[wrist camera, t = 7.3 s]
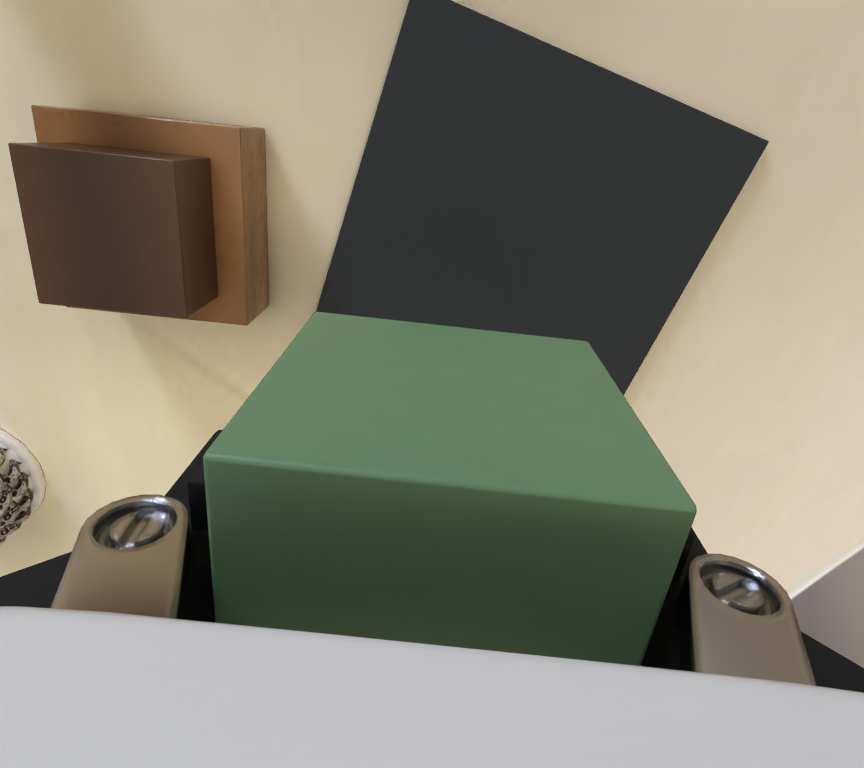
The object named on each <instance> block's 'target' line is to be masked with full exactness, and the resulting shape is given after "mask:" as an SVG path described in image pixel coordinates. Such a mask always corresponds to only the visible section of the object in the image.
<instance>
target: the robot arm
mask: <svg viewBox="0 0 864 768" xmlns="http://www.w3.org/2000/svg"><path fill="white" fill-rule="evenodd" d="M222 431H223V430H218V431H217V432H216V433H215V434H214V435H213V436H212V437H211V439H210V440H209V441H208V442H207V444H206V445H205V446H204V447H203V449H202V450H201V451H200V452H199V454H198V455H197V456H196V457H195V459H194V460H193V461H192V462H191V464H190V465H189V466H188V467H187V469H186V470H185V471H184V472H183V474H182V475H181V476H180V477H179V479H178V480H177V481H176V482H175V484H174V485H173V486H172V487H171V489H170V490H169V491H168V492H167V494H166V495H165V496H162V495H139V496H133V497H127V498H124V499H121V500H118V501H115V502H112V503H110V504H108V505H106V506H104V507H102V508H100V509H99V510H97V511H96V512H95V513H94V514H92V515H91V516H90V517H89V518H88V519H87V520H86V521H85V523H84V525H83V526H82V528H81V530H80V532H79V535H78V538H77V540H76V543H75V545H74V548H73V551H72V552H70V553H67V554H64V555H61V556H58V557H56V558H53V559H50V560H47V561H44V562H42V563H39V564H36V565H33V566H30V567H27V568H25V569H22V570H19V571H16V572H13V573H11V574H8V575H5V576H2V577H0V768H864V668H862V667H861V666H859V665H857V664H855V663H854V662H852V661H850V660H849V659H847V658H845V657H843V656H842V655H840V654H838V653H837V652H835V651H833V650H831V649H830V648H828V647H826V646H825V645H823V644H821V643H820V642H818V641H816V640H814V639H813V638H811V637H809V636H808V635H806V634H804V633H802V632H801V631H800V628H799V624H798V621H797V618H796V614H795V611H794V607H793V604H792V601H791V600H790V598H789V596H788V594H787V592H786V591H785V590H784V588H783V587H782V586H781V585H780V584H779V583H778V582H777V581H776V580H775V579H774V578H772V577H771V576H770V575H768V574H767V573H766V572H765V571H763V570H761V569H759V568H758V567H756V566H754V565H752V564H750V563H748V562H746V561H743V560H741V559H738V558H735V557H732V556H727V555H722V554H707V552H706V550H705V549H704V547H703V545H702V544H701V542H700V540H699V539H698V537H697V536H696V534H695V532H694V531H693V529H692V527H691V529H690V532H689V534H688V537H687V540H686V542H685V545H684V548H683V551H682V553H681V556H680V559H679V562H678V564H677V567H676V570H675V573H674V575H673V578H672V581H671V584H670V586H669V589H668V592H667V595H666V597H665V600H664V603H663V606H662V608H661V611H660V614H659V617H658V619H657V622H656V625H655V628H654V630H653V633H652V636H651V638H650V641H649V644H648V647H647V649H646V652H645V655H644V658H643V660H642V663H641V666H635V665H626V664H616V663H607V662H597V661H587V660H577V659H568V658H558V657H548V656H538V655H528V654H519V653H509V652H499V651H489V650H480V649H470V648H460V647H450V646H440V645H431V644H421V643H411V642H402V641H392V640H382V639H373V638H363V637H353V636H344V635H334V634H324V633H315V632H305V631H295V630H286V629H275V628H265V627H255V626H244V625H234V624H224V623H215V611H214V598H213V585H212V571H211V558H210V545H209V532H208V518H207V505H206V492H205V479H204V465H203V456H204V454H205V452H206V451H207V450H208V449H209V447H210V446H211V445H212V443H213V442H214V441H215V440H216V438H217V437H218V436H219V434H220V433H221V432H222Z"/></svg>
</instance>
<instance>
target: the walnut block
mask: <svg viewBox="0 0 864 768" xmlns="http://www.w3.org/2000/svg"><path fill="white" fill-rule="evenodd" d="M8 145H9V150H10V155H11V161H12V166H13V171H14V176H15V181H16V186H17V192H18V197H19V202H20V207H21V212H22V217H23V222H24V228H25V233H26V238H27V243H28V248H29V253H30V259H31V264H32V269H33V274H34V279H35V284H36V289H37V295H38V300H39V303H42V304H52V305H62V306H72V307H82V308H91V309H101V310H111V311H121V312H130V313H140V314H150V315H160V316H170V317H179V318H188V317H189V316H190V315H192V314H193V313H195V312H196V311H198V310H199V309H201V308H202V307H204V306H205V305H207V304H208V303H209V302H211V301H212V300H214V299H215V298H217V297H218V282H217V265H216V249H215V232H214V215H213V198H212V181H211V165H210V158H209V157H200V156H191V155H181V154H172V153H162V152H153V151H144V150H134V149H125V148H115V147H106V146H96V145H87V144H77V143H68V142H63V143H9V144H8Z"/></svg>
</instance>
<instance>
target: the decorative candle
mask: <svg viewBox="0 0 864 768" xmlns="http://www.w3.org/2000/svg"><path fill="white" fill-rule="evenodd" d="M45 487H46V481H45V478H44V476H43V473H42V470H41V467H40V464H39V462H38V461H37V460H36V459H35V457H34V456H33V455H32V454H31V453H30V451H29V450H28V449H27V448H26V446H25V445H24V444H22V443H21V442H19V441H18V440H17V439H15V438H14V437H12V436H11V435H9V434H8V433H6V432H5V431H3V430H1V429H0V545H1V544H2V543H3V542H4V541H5V539H6V537H7V536H8V535H9V534H11V533H12V532H13V531H15V530H17V529H18V528H20V526H21V524H22V522H23V521H25V520H26V519H27V518H28V517H29V516H30V515H31V514H33V512H34V511H35V510H36V509H37V508H38V507H39V505H40V504H41V503H42V502H43V501H44V494H45Z"/></svg>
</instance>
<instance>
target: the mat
mask: <svg viewBox="0 0 864 768" xmlns="http://www.w3.org/2000/svg"><path fill="white" fill-rule="evenodd" d="M768 142H769V141H767V140H765V139H762V138H760V137H758V136H756V135H753V134H751V133H749V132H747V131H744V130H742V129H740V128H738V127H735V126H733V125H731V124H729V123H726V122H724V121H722V120H719V119H717V118H715V117H713V116H710V115H708V114H706V113H704V112H701V111H699V110H697V109H695V108H692V107H690V106H688V105H686V104H683V103H681V102H679V101H677V100H674V99H672V98H670V97H668V96H665V95H663V94H661V93H659V92H656V91H654V90H652V89H650V88H647V87H645V86H643V85H640V84H638V83H636V82H634V81H631V80H629V79H627V78H625V77H622V76H620V75H618V74H616V73H613V72H611V71H609V70H607V69H604V68H602V67H600V66H598V65H595V64H593V63H591V62H589V61H586V60H584V59H582V58H580V57H577V56H575V55H573V54H571V53H568V52H566V51H564V50H561V49H559V48H557V47H555V46H552V45H550V44H548V43H546V42H543V41H541V40H539V39H537V38H534V37H532V36H530V35H528V34H525V33H523V32H521V31H519V30H516V29H514V28H512V27H510V26H507V25H505V24H503V23H501V22H498V21H496V20H494V19H492V18H489V17H487V16H485V15H482V14H480V13H478V12H476V11H473V10H471V9H469V8H467V7H464V6H462V5H460V4H458V3H455V2H453V1H451V0H410V1H409V4H408V7H407V11H406V14H405V17H404V21H403V24H402V27H401V31H400V34H399V37H398V41H397V44H396V47H395V51H394V54H393V57H392V61H391V64H390V67H389V71H388V74H387V77H386V81H385V84H384V87H383V91H382V94H381V97H380V101H379V104H378V107H377V111H376V114H375V117H374V121H373V124H372V127H371V131H370V134H369V137H368V141H367V144H366V147H365V151H364V154H363V157H362V161H361V164H360V167H359V171H358V174H357V177H356V181H355V184H354V187H353V191H352V194H351V197H350V201H349V204H348V207H347V211H346V214H345V217H344V221H343V224H342V227H341V231H340V234H339V237H338V241H337V244H336V247H335V251H334V254H333V257H332V261H331V264H330V267H329V271H328V274H327V277H326V281H325V284H324V287H323V291H322V294H321V297H320V301H319V304H318V307H317V311H316V312H325V313H334V314H343V315H352V316H361V317H370V318H379V319H389V320H398V321H407V322H416V323H425V324H434V325H443V326H452V327H461V328H471V329H480V330H489V331H498V332H507V333H516V334H525V335H534V336H544V337H553V338H562V339H571V340H580V341H587V342H588V343H589V344H590V346H591V347H592V349H593V350H594V352H595V353H596V355H597V356H598V358H599V359H600V361H601V362H602V364H603V365H604V367H605V368H606V370H607V371H608V373H609V374H610V376H611V377H612V379H613V381H614V382H615V384H616V385H617V387H618V388H619V390H620V391H621V393H622V394H623V395H624V393H625V392H626V390H627V388H628V386H629V385H630V383H631V381H632V379H633V378H634V376H635V374H636V372H637V371H638V369H639V367H640V365H641V364H642V362H643V360H644V359H645V357H646V355H647V353H648V352H649V350H650V348H651V346H652V345H653V343H654V341H655V339H656V338H657V336H658V334H659V332H660V331H661V329H662V327H663V325H664V324H665V322H666V320H667V318H668V317H669V315H670V313H671V311H672V310H673V308H674V306H675V304H676V303H677V301H678V299H679V297H680V296H681V294H682V292H683V291H684V289H685V287H686V285H687V284H688V282H689V280H690V278H691V277H692V275H693V273H694V271H695V270H696V268H697V266H698V264H699V263H700V261H701V259H702V257H703V256H704V254H705V252H706V250H707V249H708V247H709V245H710V243H711V242H712V240H713V238H714V236H715V235H716V233H717V231H718V229H719V228H720V226H721V224H722V222H723V221H724V219H725V217H726V216H727V214H728V212H729V210H730V209H731V207H732V205H733V203H734V202H735V200H736V198H737V196H738V195H739V193H740V191H741V189H742V188H743V186H744V184H745V182H746V181H747V179H748V177H749V175H750V174H751V172H752V170H753V168H754V167H755V165H756V163H757V161H758V160H759V158H760V156H761V154H762V153H763V151H764V149H765V148H766V146H767V144H768Z"/></svg>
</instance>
